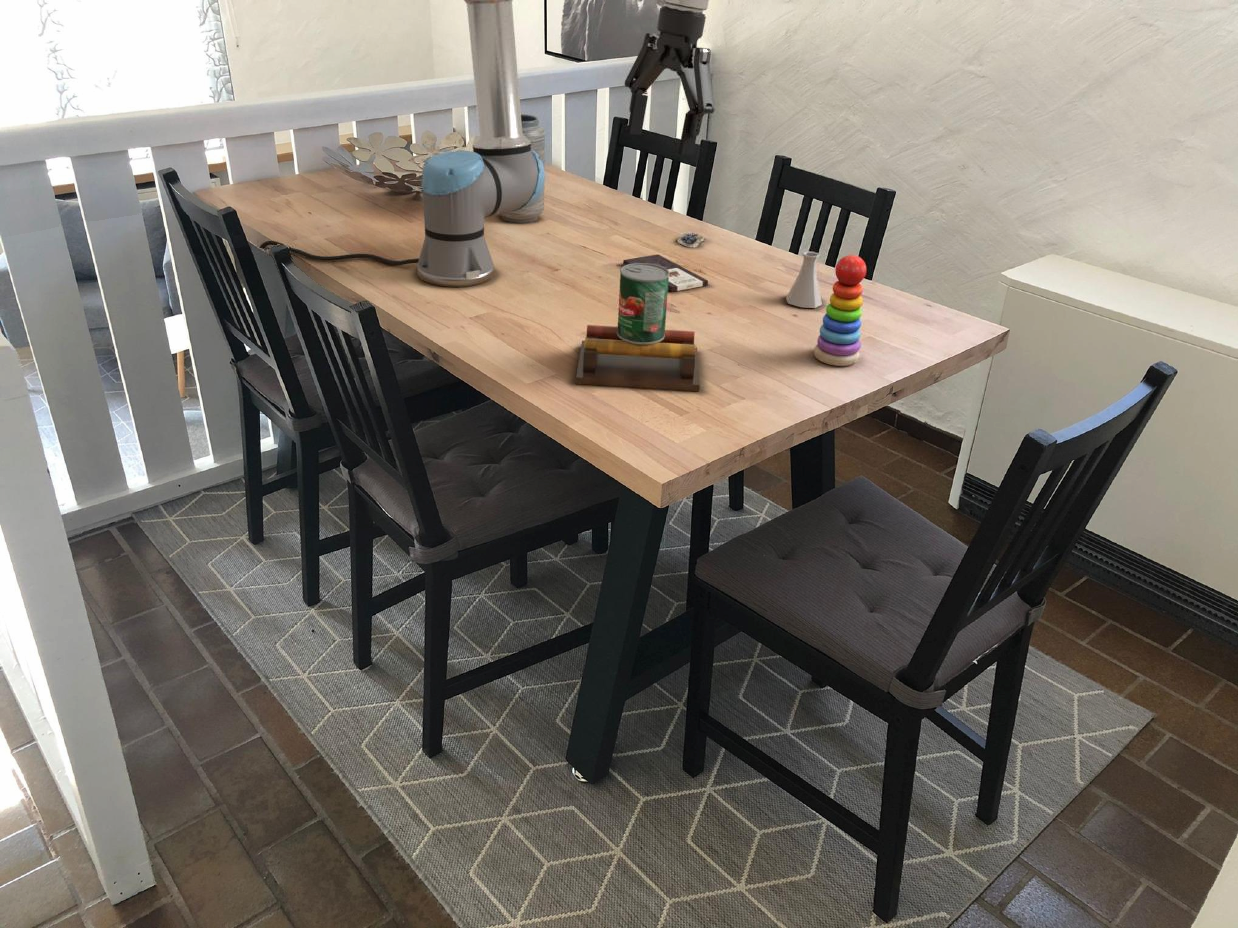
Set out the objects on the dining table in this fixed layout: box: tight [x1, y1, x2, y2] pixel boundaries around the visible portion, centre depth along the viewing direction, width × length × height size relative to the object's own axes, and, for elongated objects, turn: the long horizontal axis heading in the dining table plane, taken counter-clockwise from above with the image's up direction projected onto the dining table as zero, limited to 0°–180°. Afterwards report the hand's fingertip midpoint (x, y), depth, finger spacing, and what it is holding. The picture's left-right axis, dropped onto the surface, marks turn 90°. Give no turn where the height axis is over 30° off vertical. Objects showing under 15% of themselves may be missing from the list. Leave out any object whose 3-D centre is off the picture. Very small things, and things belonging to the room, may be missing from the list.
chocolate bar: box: [622, 253, 709, 293], centre depth 205 cm, size 9×1×18 cm
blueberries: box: [676, 232, 707, 248], centre depth 225 cm, size 7×8×2 cm
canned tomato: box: [617, 263, 669, 345], centre depth 160 cm, size 8×8×11 cm
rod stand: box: [575, 324, 701, 392], centre depth 164 cm, size 20×15×6 cm
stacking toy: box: [813, 254, 867, 367], centre depth 168 cm, size 8×8×19 cm
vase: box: [499, 113, 546, 224], centre depth 229 cm, size 12×12×23 cm
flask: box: [785, 250, 823, 309], centre depth 194 cm, size 7×7×10 cm
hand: (659, 144), depth 167 cm, fingers open, 13 cm apart
